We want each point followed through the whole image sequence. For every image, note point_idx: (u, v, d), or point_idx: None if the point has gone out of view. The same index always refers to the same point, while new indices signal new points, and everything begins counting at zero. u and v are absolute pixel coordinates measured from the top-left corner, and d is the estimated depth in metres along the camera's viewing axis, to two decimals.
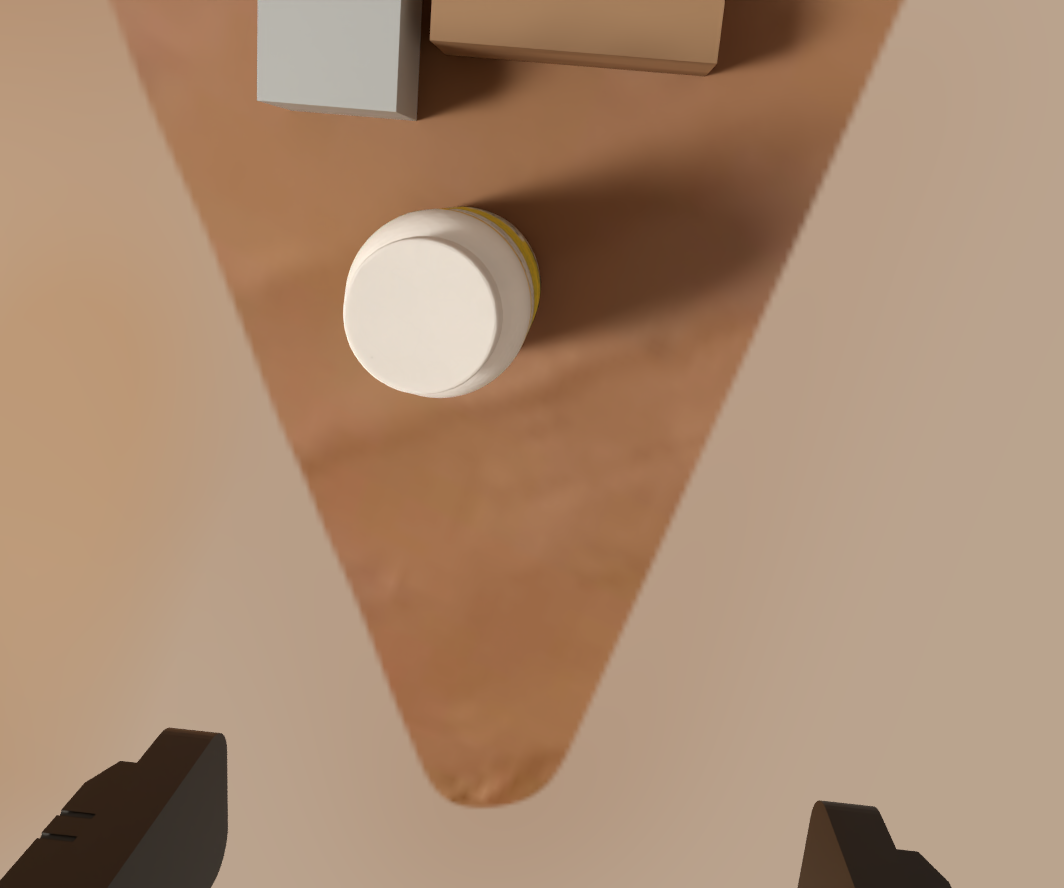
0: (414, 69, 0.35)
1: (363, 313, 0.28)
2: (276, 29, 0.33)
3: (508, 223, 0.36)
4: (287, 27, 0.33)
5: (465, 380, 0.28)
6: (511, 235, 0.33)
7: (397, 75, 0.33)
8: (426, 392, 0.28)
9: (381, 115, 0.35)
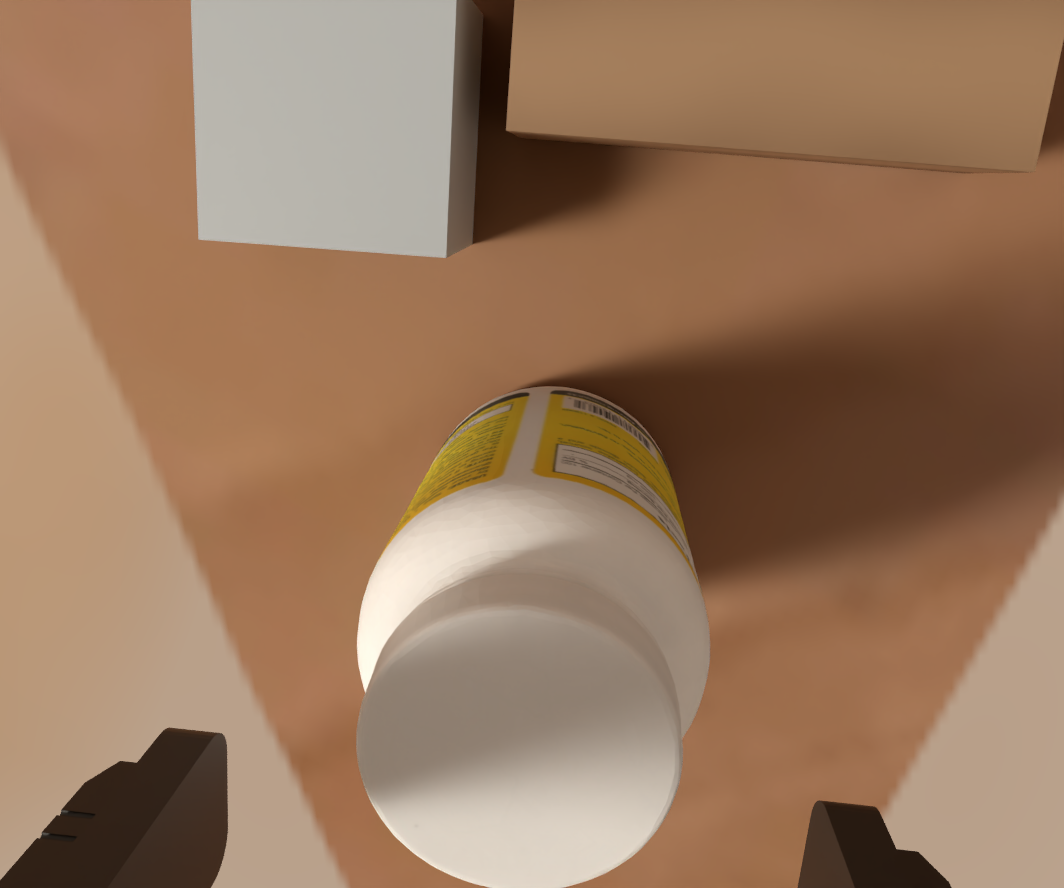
0: (470, 165, 0.21)
1: (398, 746, 0.13)
2: (228, 115, 0.18)
3: (628, 421, 0.22)
4: (247, 110, 0.18)
5: (608, 869, 0.14)
6: (652, 477, 0.19)
7: (448, 194, 0.18)
8: None
9: None
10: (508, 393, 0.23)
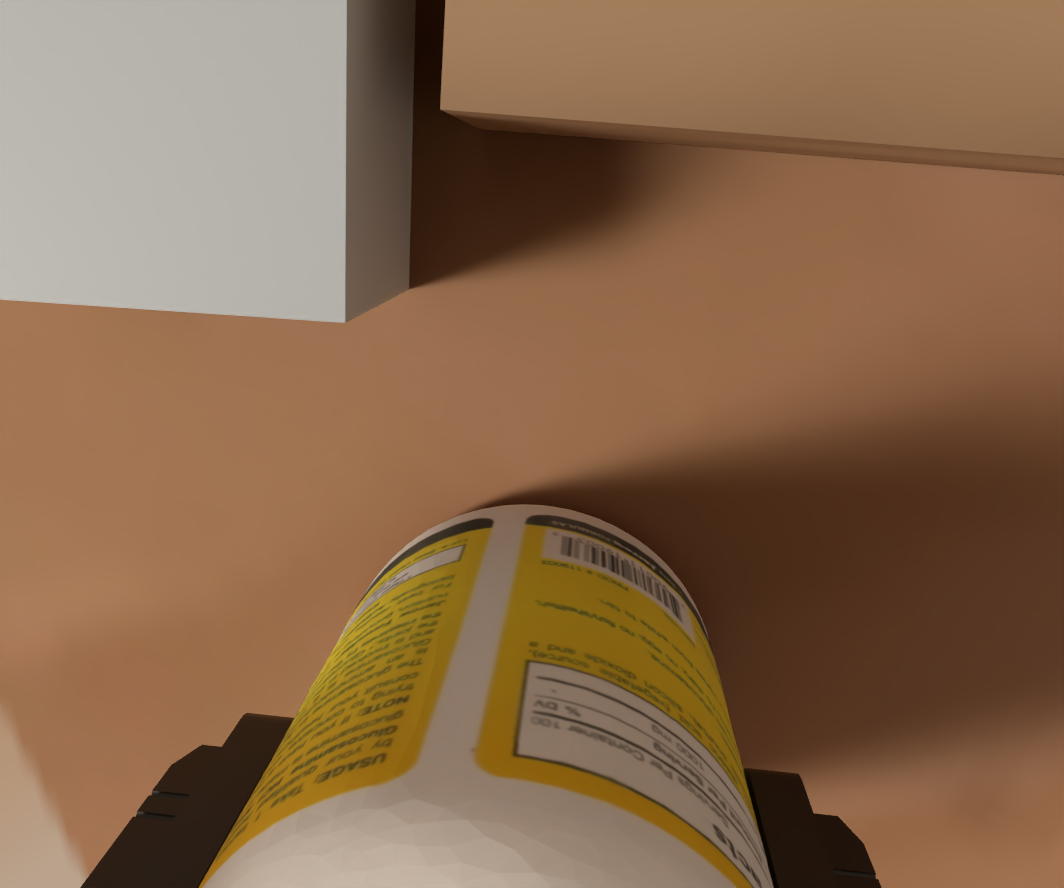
0: (399, 169, 0.13)
1: None
2: None
3: (646, 566, 0.14)
4: None
5: None
6: (691, 698, 0.11)
7: (345, 215, 0.11)
8: None
9: None
10: (463, 515, 0.15)
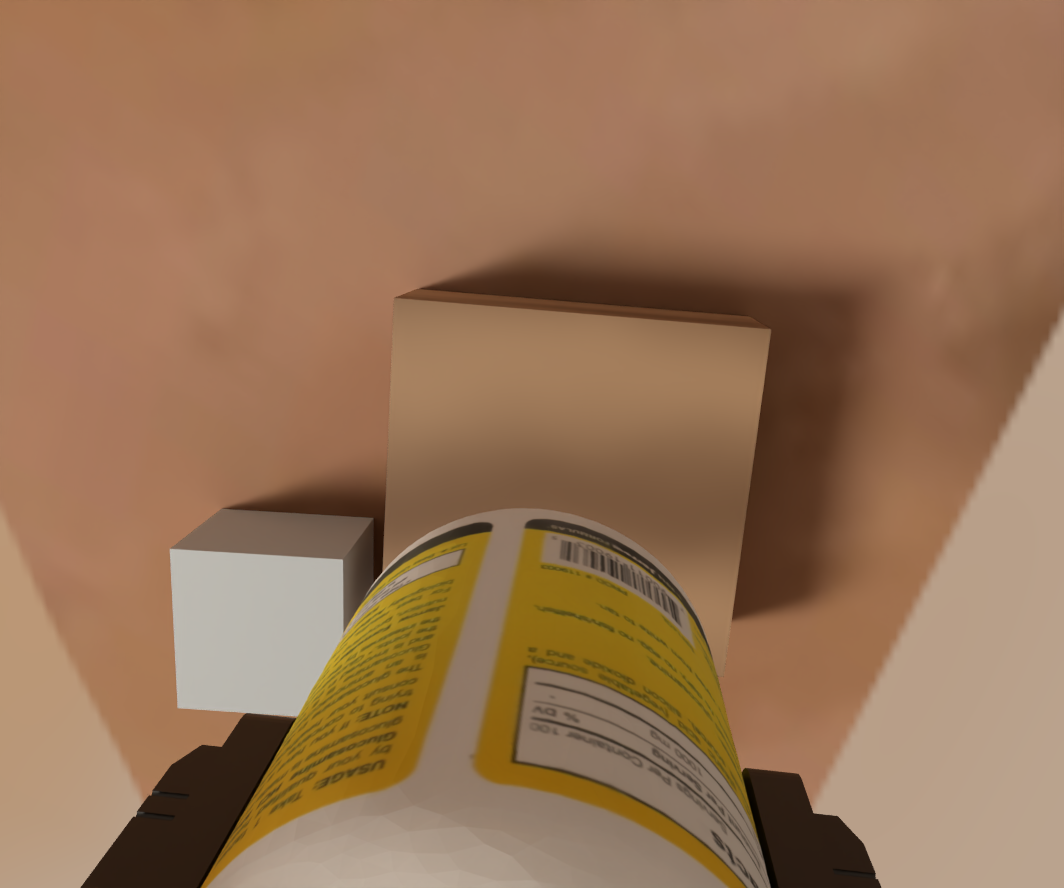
0: None
1: None
2: (196, 635, 0.27)
3: (645, 570, 0.14)
4: (209, 632, 0.27)
5: None
6: (690, 703, 0.11)
7: None
8: None
9: None
10: (463, 519, 0.15)
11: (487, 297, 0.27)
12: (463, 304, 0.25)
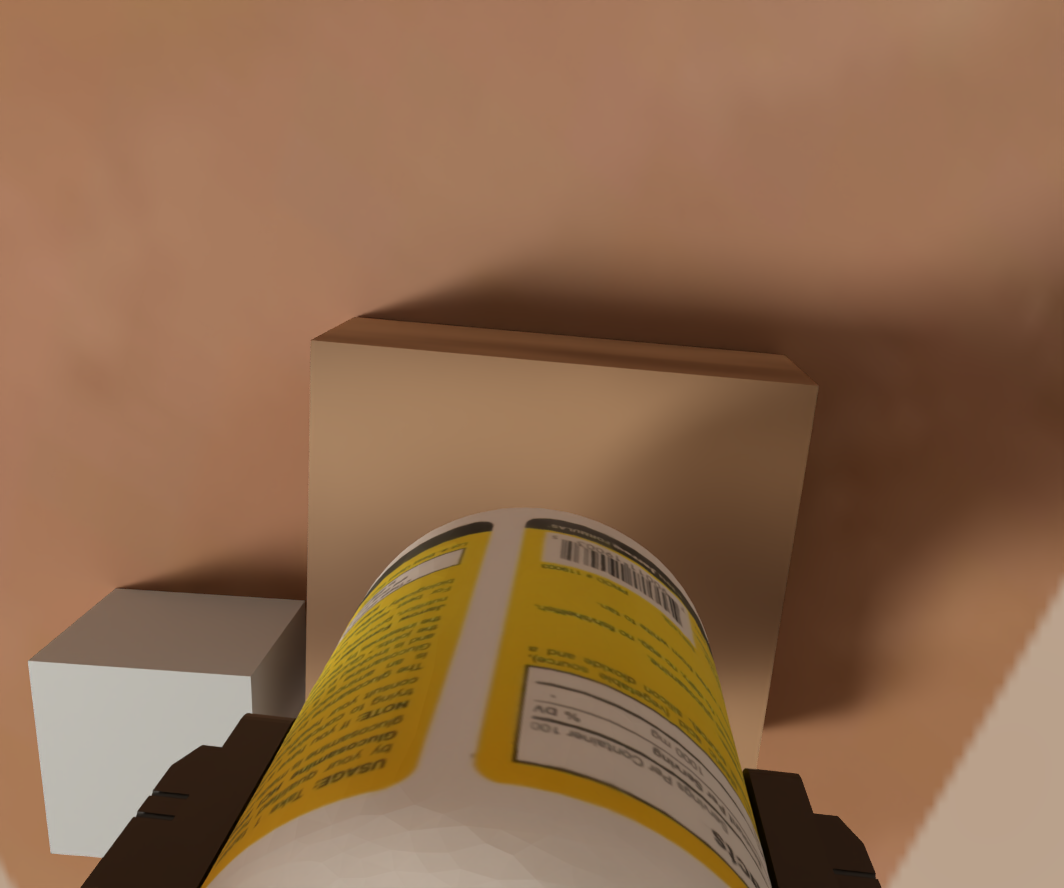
0: None
1: None
2: (68, 766, 0.21)
3: (645, 569, 0.14)
4: (84, 763, 0.21)
5: None
6: (691, 702, 0.11)
7: None
8: None
9: None
10: (463, 518, 0.15)
11: (442, 331, 0.21)
12: (403, 349, 0.19)
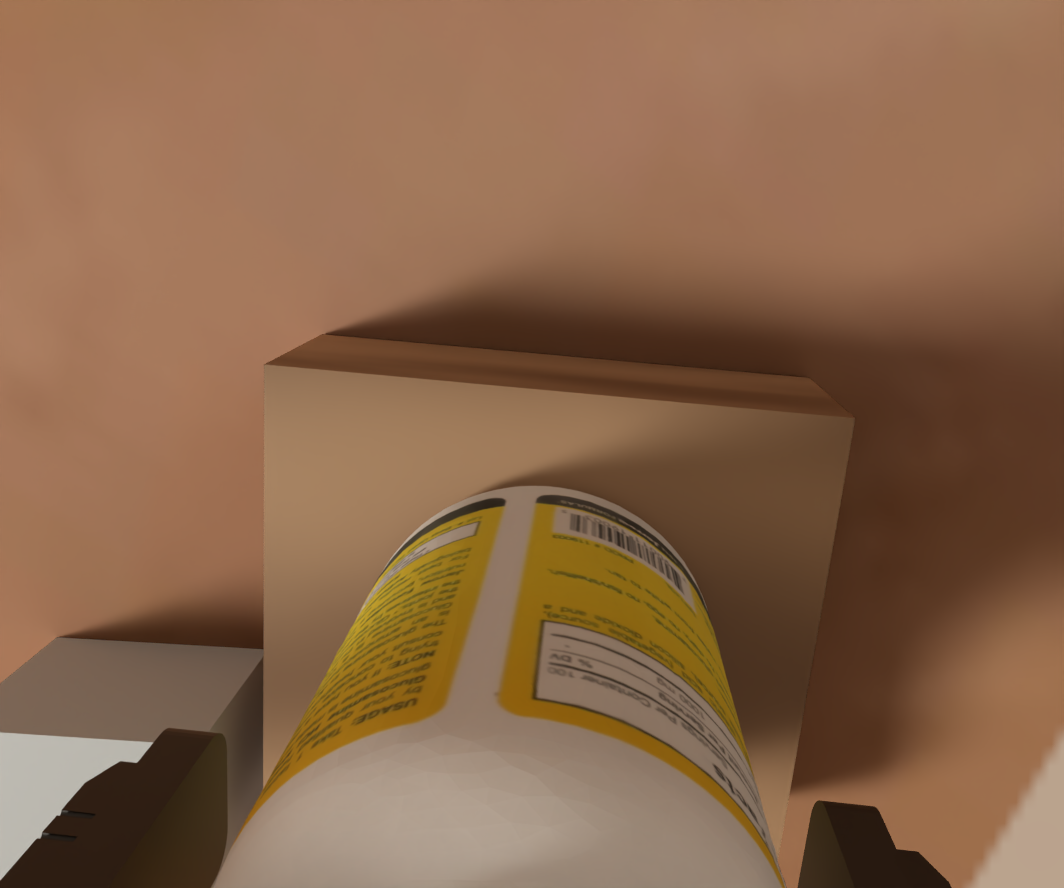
0: None
1: None
2: None
3: (649, 542, 0.15)
4: (12, 843, 0.19)
5: None
6: (693, 658, 0.12)
7: None
8: None
9: None
10: (476, 496, 0.16)
11: (420, 351, 0.18)
12: (372, 375, 0.16)
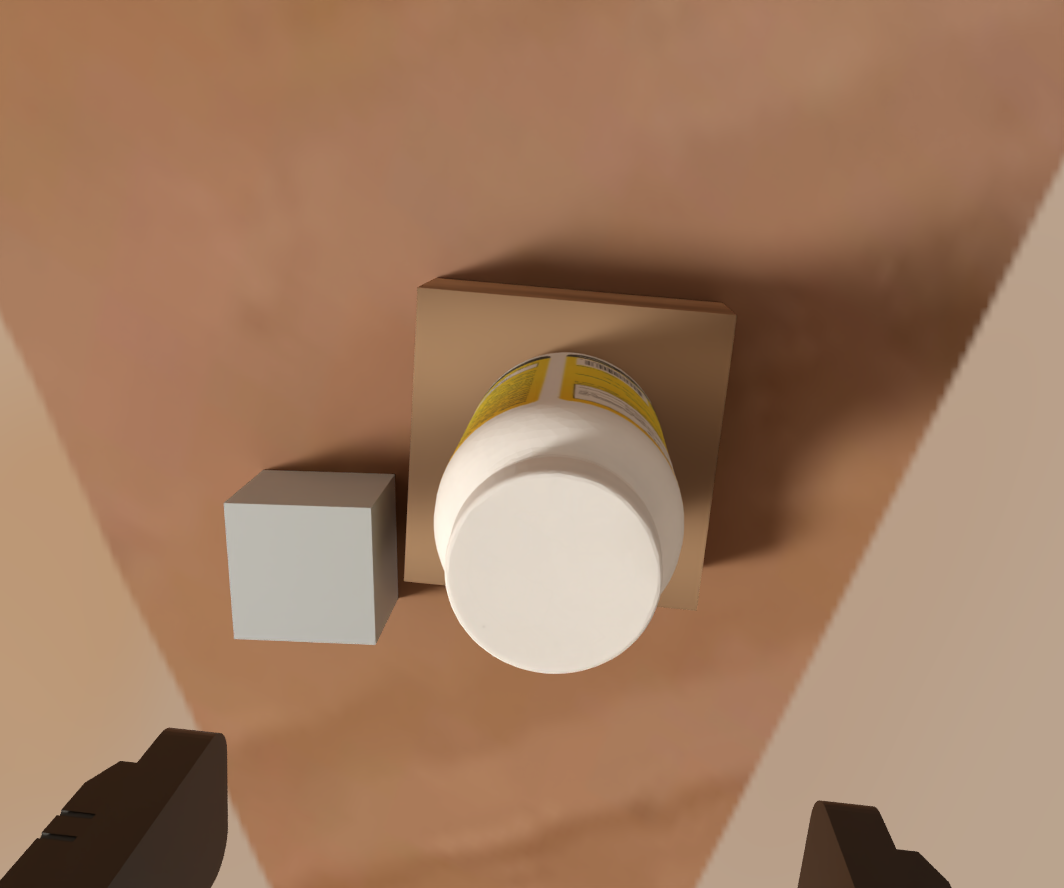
0: (392, 563, 0.35)
1: (473, 569, 0.20)
2: (248, 575, 0.32)
3: (625, 377, 0.28)
4: (259, 573, 0.32)
5: (613, 656, 0.20)
6: (643, 411, 0.25)
7: (374, 611, 0.32)
8: (558, 672, 0.20)
9: None
10: None
11: (496, 285, 0.32)
12: (476, 293, 0.29)
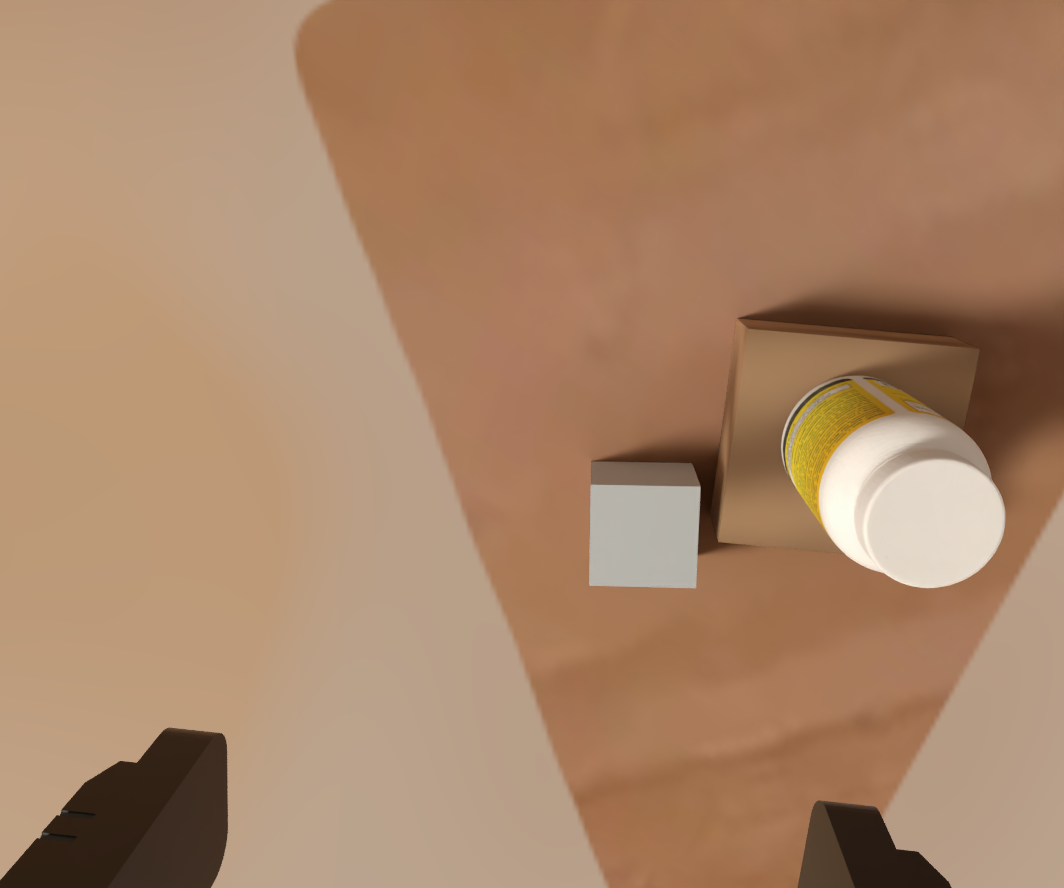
0: None
1: (884, 520, 0.31)
2: (604, 538, 0.44)
3: None
4: (612, 536, 0.44)
5: (968, 576, 0.32)
6: None
7: (696, 563, 0.44)
8: (931, 586, 0.32)
9: None
10: (833, 379, 0.41)
11: (788, 325, 0.43)
12: (790, 332, 0.41)
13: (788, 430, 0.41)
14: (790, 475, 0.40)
